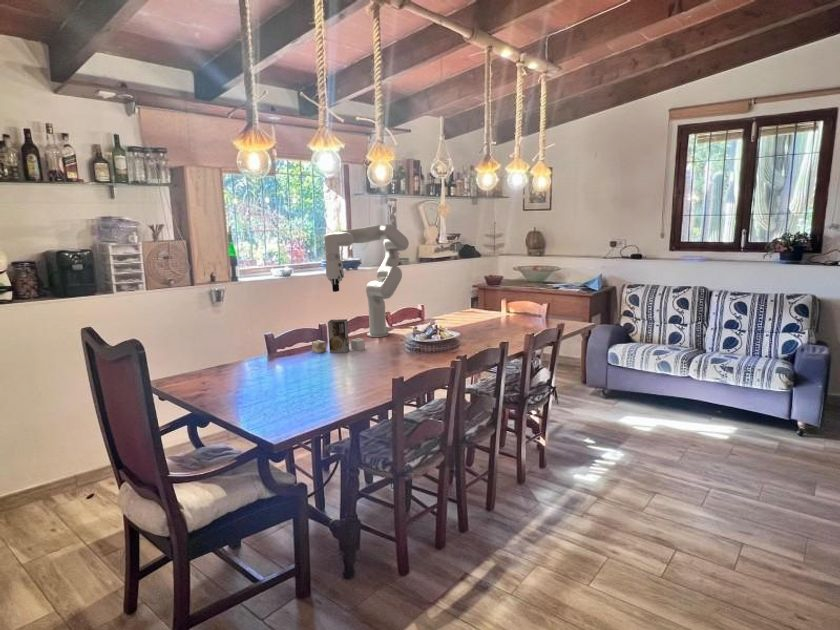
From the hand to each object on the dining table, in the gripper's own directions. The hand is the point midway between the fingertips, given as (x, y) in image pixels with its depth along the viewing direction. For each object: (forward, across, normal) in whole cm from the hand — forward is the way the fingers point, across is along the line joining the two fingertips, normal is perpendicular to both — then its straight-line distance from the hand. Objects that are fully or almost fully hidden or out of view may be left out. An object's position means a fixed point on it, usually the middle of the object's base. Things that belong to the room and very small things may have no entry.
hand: (336, 291), depth 286 cm
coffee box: (+29, -13, +11) cm, 33 cm away
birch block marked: (+28, -5, +18) cm, 34 cm away
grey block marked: (+29, -17, +2) cm, 34 cm away
